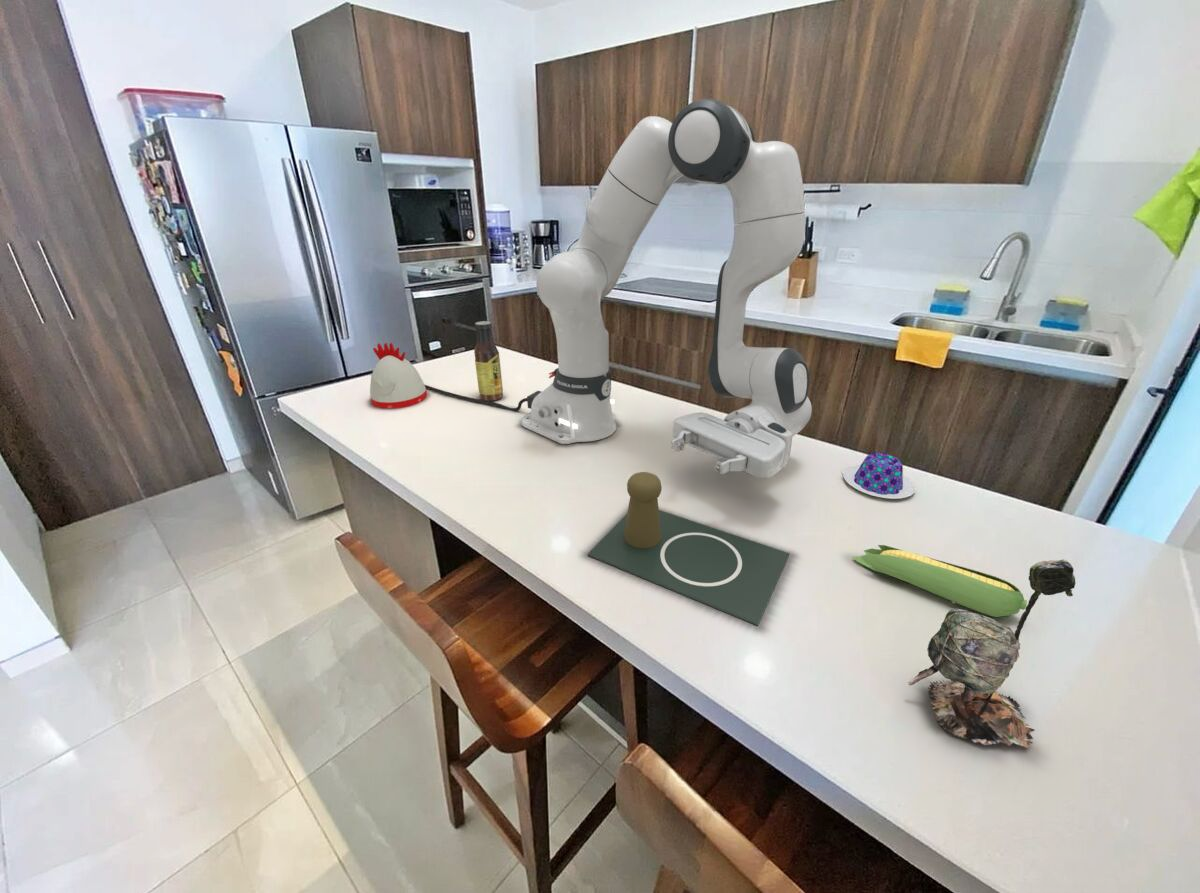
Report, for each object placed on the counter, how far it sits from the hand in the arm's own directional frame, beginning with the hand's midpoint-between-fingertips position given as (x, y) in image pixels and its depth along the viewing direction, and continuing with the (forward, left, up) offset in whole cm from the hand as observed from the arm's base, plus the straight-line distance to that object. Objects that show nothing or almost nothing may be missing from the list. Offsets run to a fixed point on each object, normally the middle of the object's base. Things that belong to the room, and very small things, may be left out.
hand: (695, 456), depth 81 cm
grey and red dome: (-87, +8, -11) cm, 88 cm away
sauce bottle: (-66, +21, -11) cm, 70 cm away
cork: (-4, -11, -10) cm, 16 cm away
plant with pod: (+39, -19, -11) cm, 45 cm away
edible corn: (+35, 0, -11) cm, 37 cm away
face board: (+4, -11, -11) cm, 16 cm away
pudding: (+26, +26, -11) cm, 38 cm away
